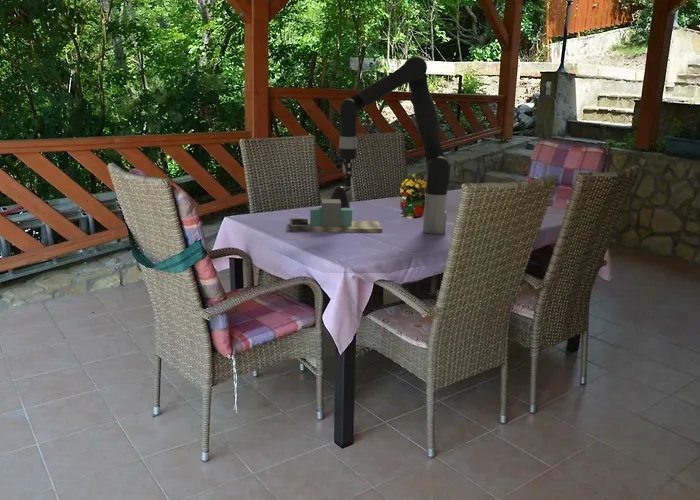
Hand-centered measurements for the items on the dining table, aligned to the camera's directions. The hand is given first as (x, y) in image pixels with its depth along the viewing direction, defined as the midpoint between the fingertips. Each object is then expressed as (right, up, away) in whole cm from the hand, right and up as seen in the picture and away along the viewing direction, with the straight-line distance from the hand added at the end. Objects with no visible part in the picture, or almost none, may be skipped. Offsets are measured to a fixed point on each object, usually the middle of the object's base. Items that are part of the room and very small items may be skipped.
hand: (347, 184), depth 272 cm
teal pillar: (-7, -17, +6) cm, 19 cm away
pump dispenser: (-4, -13, +26) cm, 29 cm away
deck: (-5, -18, +6) cm, 20 cm away
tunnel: (-7, -17, +6) cm, 19 cm away
